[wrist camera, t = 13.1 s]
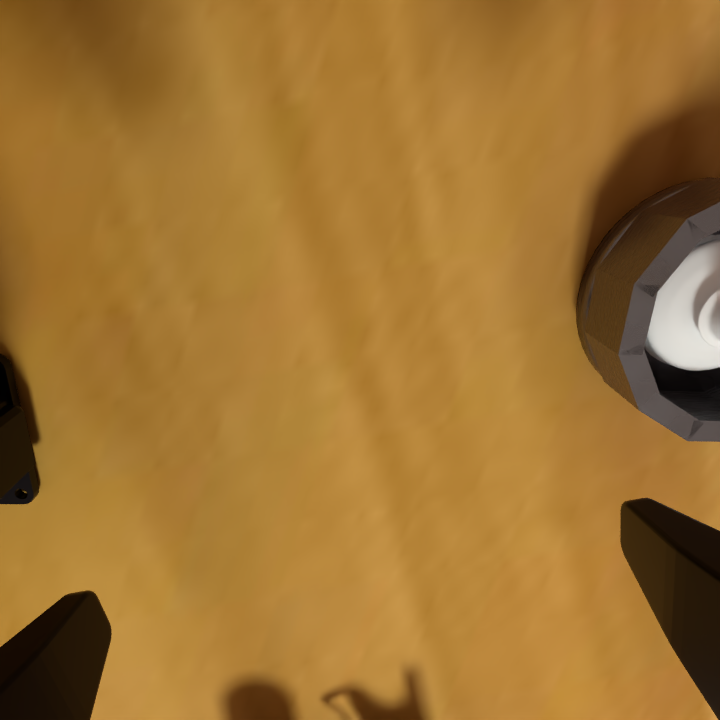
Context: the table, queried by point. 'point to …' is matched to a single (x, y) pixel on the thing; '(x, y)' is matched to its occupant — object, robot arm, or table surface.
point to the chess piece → (689, 312)
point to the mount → (650, 307)
